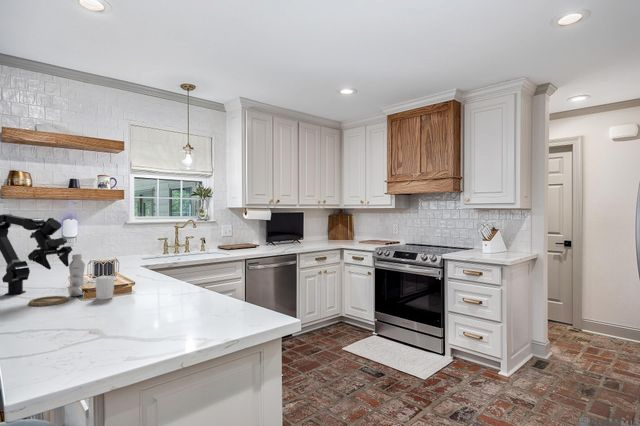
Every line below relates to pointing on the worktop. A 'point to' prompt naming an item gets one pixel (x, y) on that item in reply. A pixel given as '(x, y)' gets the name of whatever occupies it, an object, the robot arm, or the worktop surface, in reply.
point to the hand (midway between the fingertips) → (59, 267)
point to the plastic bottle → (76, 275)
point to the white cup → (104, 287)
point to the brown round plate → (48, 301)
